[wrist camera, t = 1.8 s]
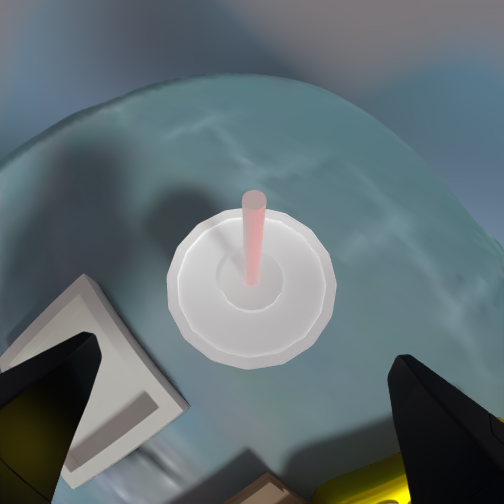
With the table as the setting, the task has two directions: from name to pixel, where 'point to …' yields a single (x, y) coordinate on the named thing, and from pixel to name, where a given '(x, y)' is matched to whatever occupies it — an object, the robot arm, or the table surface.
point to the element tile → (368, 485)
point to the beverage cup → (251, 286)
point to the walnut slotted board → (266, 492)
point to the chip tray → (102, 380)
